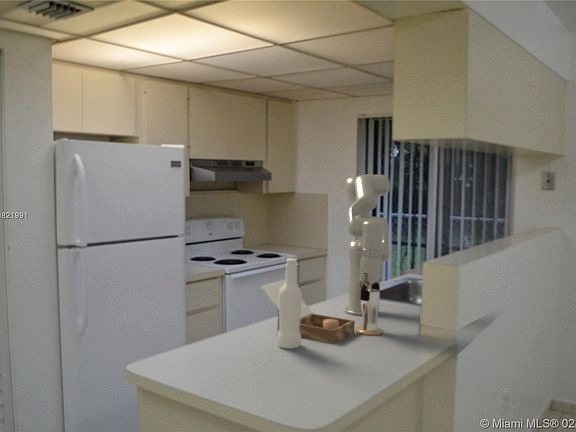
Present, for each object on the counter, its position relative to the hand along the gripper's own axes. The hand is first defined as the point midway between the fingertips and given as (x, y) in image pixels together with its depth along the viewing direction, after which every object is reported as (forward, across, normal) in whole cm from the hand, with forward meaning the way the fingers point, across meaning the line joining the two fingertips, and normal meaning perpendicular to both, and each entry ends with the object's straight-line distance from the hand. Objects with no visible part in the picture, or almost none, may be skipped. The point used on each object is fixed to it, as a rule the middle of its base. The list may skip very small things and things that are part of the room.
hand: (369, 297), depth 207 cm
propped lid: (+13, +14, -28) cm, 34 cm away
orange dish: (+13, +1, +1) cm, 13 cm away
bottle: (+12, +34, -14) cm, 39 cm away
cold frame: (+13, +14, -12) cm, 23 cm away
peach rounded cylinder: (+13, +16, -8) cm, 22 cm away
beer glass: (+12, +1, 0) cm, 12 cm away
